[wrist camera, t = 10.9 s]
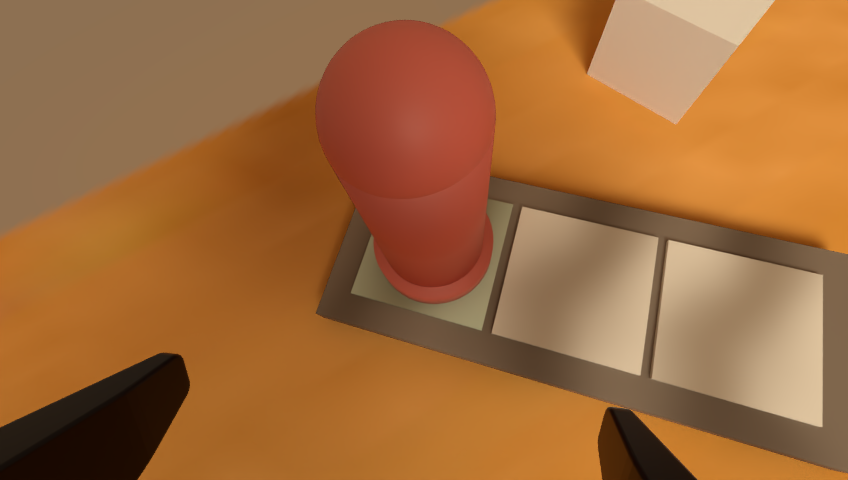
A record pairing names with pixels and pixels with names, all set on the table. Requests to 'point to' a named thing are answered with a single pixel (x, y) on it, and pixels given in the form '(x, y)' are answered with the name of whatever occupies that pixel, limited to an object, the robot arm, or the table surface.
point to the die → (670, 48)
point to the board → (637, 317)
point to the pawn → (414, 153)
